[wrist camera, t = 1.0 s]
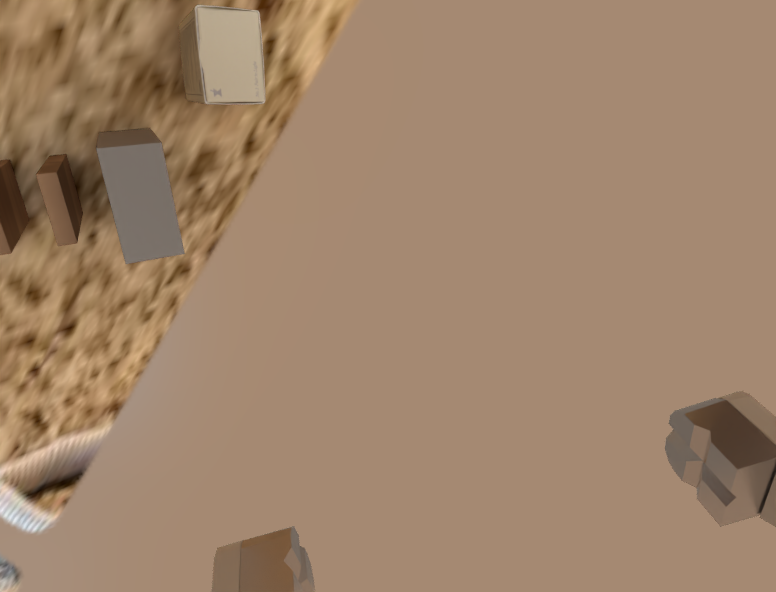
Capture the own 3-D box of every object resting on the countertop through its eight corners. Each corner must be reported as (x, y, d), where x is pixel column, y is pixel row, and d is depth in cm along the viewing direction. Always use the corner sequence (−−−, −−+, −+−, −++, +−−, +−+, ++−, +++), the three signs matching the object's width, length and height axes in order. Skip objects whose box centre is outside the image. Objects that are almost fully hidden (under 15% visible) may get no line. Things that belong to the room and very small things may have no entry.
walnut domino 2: (67, 215, 45) (57, 246, 37) (49, 155, 43) (35, 174, 35) (82, 213, 46) (77, 243, 38) (66, 154, 44) (56, 172, 36)
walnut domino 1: (12, 222, 44) (-10, 256, 36) (-9, 161, 42) (-37, 182, 34) (29, 220, 44) (11, 253, 36) (9, 159, 42) (-15, 179, 34)
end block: (99, 132, 44) (96, 148, 34) (149, 128, 46) (161, 142, 36) (122, 224, 48) (125, 264, 38) (169, 217, 49) (184, 253, 39)
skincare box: (235, 101, 48) (268, 108, 38) (183, 100, 46) (204, 107, 36) (229, 24, 46) (263, 9, 36) (174, 20, 44) (193, 3, 34)
